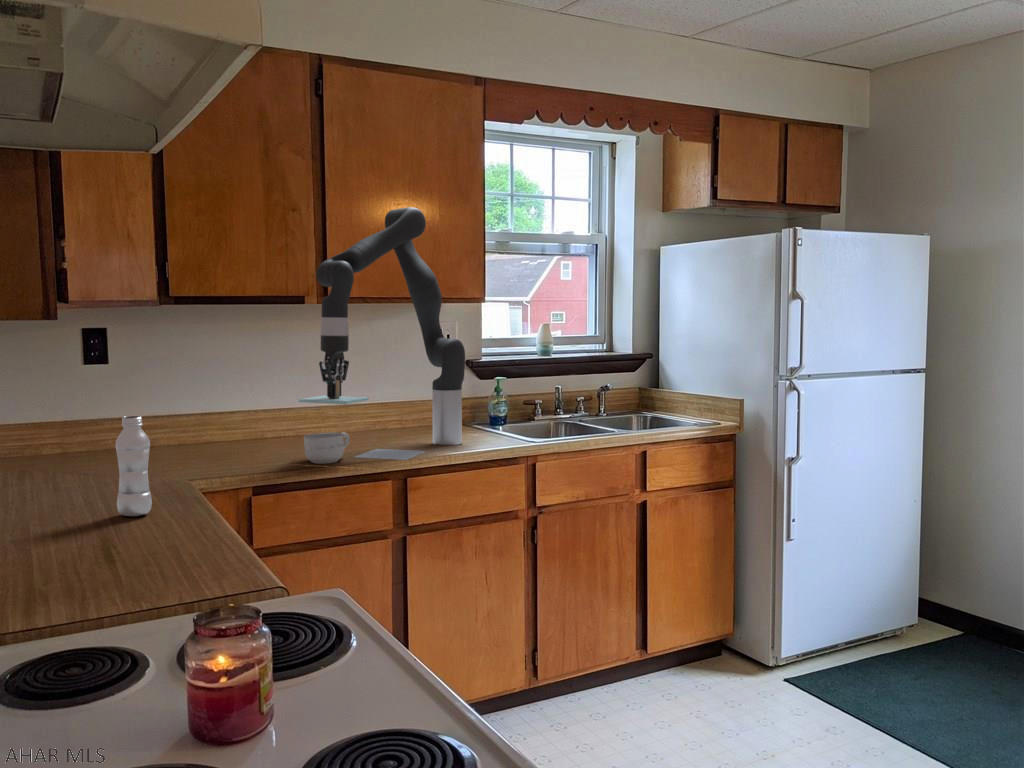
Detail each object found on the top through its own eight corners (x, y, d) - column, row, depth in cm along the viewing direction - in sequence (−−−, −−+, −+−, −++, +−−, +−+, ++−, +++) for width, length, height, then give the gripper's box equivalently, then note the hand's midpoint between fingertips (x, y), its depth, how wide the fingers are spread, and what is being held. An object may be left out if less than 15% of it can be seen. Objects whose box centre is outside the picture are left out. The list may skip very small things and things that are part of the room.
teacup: (314, 467, 225) (314, 437, 224) (297, 462, 233) (296, 433, 233) (361, 462, 234) (360, 433, 233) (342, 457, 242) (342, 429, 242)
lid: (323, 398, 242) (323, 378, 241) (368, 400, 238) (368, 379, 238) (298, 402, 228) (298, 380, 228) (346, 404, 225) (346, 382, 224)
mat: (376, 450, 255) (376, 448, 255) (426, 452, 251) (426, 451, 251) (353, 458, 239) (353, 457, 239) (406, 461, 235) (406, 459, 235)
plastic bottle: (142, 510, 175) (139, 414, 173) (158, 515, 171) (155, 416, 169) (110, 516, 170) (107, 417, 168) (127, 521, 166) (124, 419, 164)
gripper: (335, 334, 224) (335, 399, 225) (358, 334, 238) (357, 395, 239) (309, 334, 226) (309, 398, 227) (333, 334, 240) (333, 394, 241)
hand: (334, 396), depth 233 cm, fingers closed on lid, 2 cm apart
